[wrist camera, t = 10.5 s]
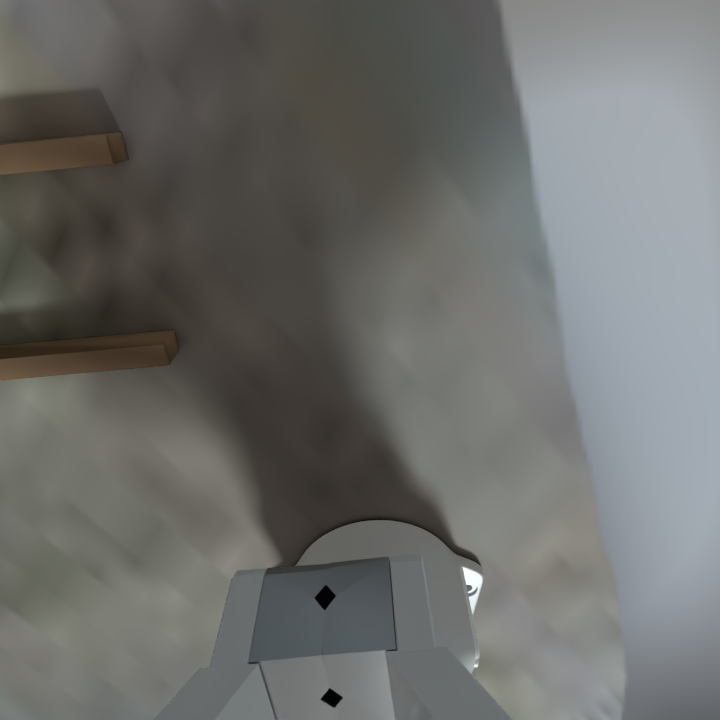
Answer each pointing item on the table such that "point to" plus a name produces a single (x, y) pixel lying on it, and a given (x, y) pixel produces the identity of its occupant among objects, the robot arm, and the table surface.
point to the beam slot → (91, 350)
